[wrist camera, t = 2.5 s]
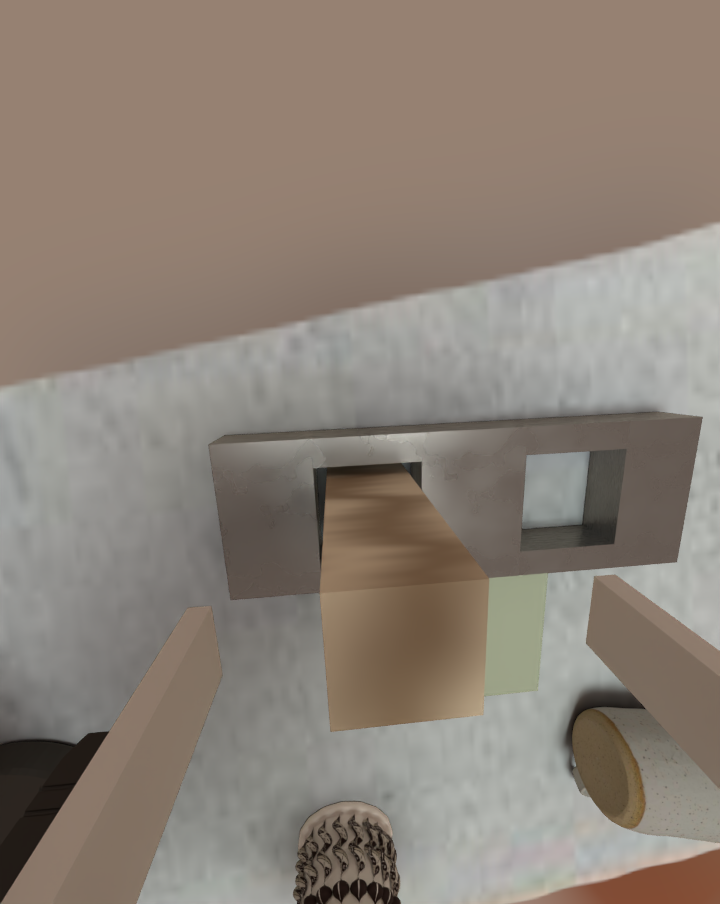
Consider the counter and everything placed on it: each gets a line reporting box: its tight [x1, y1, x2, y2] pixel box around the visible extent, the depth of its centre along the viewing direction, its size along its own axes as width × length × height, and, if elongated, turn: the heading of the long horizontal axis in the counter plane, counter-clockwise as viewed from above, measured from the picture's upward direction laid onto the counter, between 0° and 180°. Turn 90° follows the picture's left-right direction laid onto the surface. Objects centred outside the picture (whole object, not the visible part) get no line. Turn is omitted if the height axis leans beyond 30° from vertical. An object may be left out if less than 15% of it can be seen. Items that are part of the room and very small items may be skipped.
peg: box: [320, 463, 489, 732], centre depth 17 cm, size 5×5×14 cm
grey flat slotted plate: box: [208, 412, 703, 600], centre depth 23 cm, size 30×10×3 cm, turn 92°
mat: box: [484, 573, 548, 696], centre depth 27 cm, size 11×11×1 cm
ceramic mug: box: [572, 707, 720, 843], centre depth 27 cm, size 11×8×8 cm
